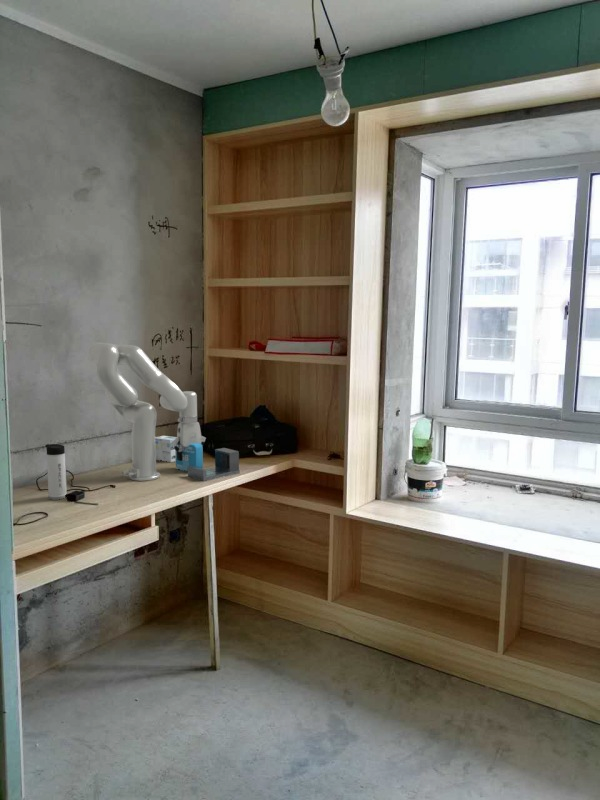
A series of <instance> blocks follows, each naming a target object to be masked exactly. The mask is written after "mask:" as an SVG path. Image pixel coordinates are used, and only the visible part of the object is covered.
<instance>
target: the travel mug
mask: <svg viewBox="0 0 600 800" xmlns="http://www.w3.org/2000/svg"><path fill="white" fill-rule="evenodd" d="M44 447H45V448H46V465H47V466H46V467H47V469H46V471H47V487H48V488H47V489H48V499H49V500H51V501H60V500H63V498H64V499H66V498H65V495H66V494H67V492H68V491H67V473H66V472H67V471H66V469H67V468H66V453H65V446H64V445H62V444H55V443H54V444H53V443H51V444H50V443H47V444H45V446H44ZM67 495H68V494H67ZM59 499H60V500H59Z"/></svg>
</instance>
